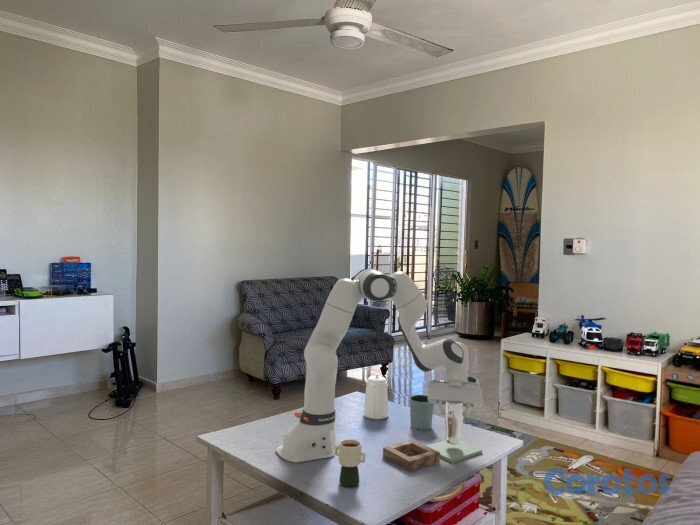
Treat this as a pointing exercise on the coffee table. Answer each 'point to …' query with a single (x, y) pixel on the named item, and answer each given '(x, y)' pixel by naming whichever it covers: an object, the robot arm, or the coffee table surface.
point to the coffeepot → (376, 398)
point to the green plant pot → (421, 412)
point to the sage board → (455, 451)
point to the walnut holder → (422, 458)
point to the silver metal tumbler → (453, 421)
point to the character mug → (349, 461)
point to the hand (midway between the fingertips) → (453, 415)
